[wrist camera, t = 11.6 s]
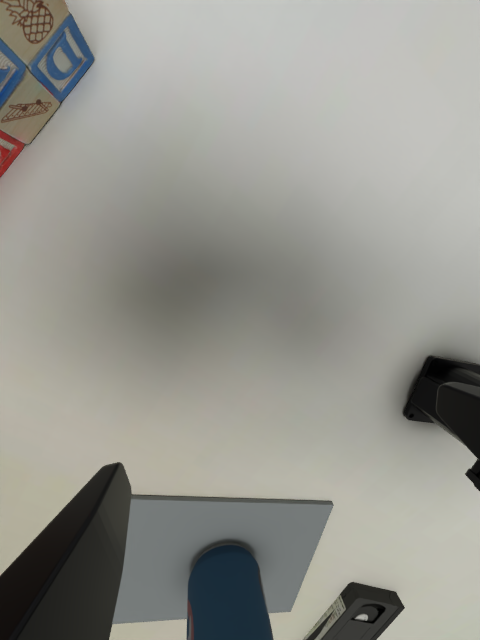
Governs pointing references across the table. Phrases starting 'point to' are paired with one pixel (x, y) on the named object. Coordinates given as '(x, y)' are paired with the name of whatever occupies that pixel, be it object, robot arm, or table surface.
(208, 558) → the soda can
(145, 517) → the desk mat
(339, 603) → the vhs tape
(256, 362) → the table surface
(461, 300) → the table surface
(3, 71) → the stack of blocks
